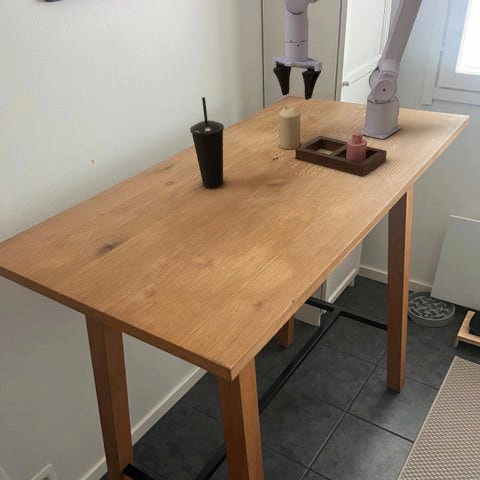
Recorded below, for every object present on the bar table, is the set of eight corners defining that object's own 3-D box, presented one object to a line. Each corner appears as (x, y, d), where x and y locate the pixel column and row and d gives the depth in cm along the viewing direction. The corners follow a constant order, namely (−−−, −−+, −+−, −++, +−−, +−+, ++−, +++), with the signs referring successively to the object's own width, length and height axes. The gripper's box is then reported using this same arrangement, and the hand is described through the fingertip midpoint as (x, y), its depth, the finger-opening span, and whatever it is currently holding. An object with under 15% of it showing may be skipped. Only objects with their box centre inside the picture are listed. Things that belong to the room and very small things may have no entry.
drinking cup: (225, 191, 118) (216, 103, 105) (193, 191, 120) (181, 103, 107) (232, 177, 124) (224, 92, 111) (202, 177, 125) (191, 92, 113)
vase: (352, 158, 127) (354, 128, 123) (369, 162, 125) (371, 132, 120) (341, 165, 125) (343, 134, 120) (358, 169, 122) (361, 138, 117)
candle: (276, 148, 136) (275, 110, 130) (284, 140, 140) (284, 103, 133) (295, 150, 134) (295, 111, 127) (303, 142, 138) (303, 105, 131)
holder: (319, 145, 136) (319, 135, 134) (385, 160, 125) (387, 150, 123) (295, 158, 130) (295, 148, 128) (362, 176, 119) (363, 166, 117)
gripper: (264, 41, 129) (266, 96, 137) (311, 46, 121) (310, 105, 129) (281, 35, 133) (282, 89, 141) (327, 39, 125) (325, 97, 133)
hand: (296, 96), depth 136 cm, fingers open, 7 cm apart
